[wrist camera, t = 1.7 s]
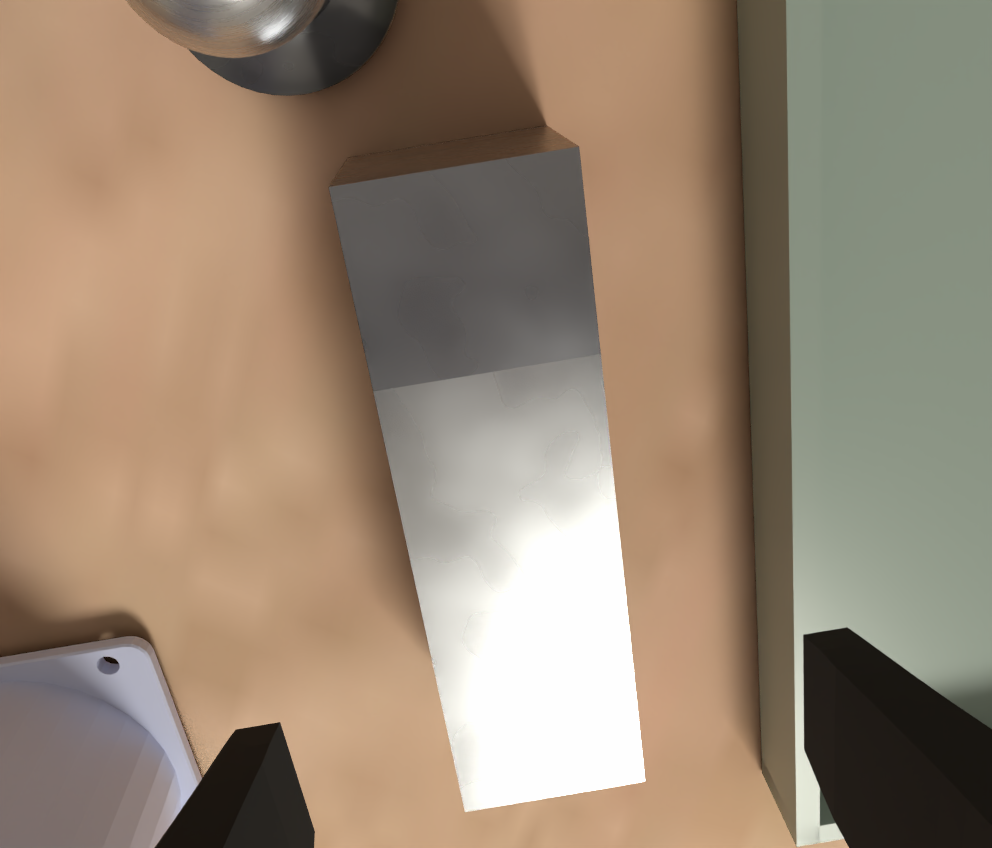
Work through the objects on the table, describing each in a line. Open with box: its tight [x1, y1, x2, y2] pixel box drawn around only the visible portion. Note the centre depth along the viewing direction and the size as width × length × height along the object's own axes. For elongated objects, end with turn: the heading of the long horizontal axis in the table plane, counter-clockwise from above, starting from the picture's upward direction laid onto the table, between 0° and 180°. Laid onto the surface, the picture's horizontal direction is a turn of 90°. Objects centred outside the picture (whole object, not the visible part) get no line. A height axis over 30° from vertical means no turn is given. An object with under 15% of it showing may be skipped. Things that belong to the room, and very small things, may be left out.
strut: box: [329, 126, 645, 812], centre depth 18 cm, size 4×14×4 cm, turn 8°
